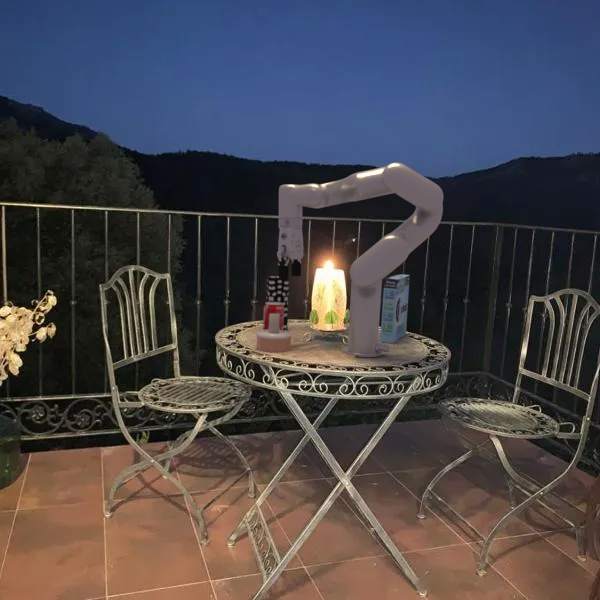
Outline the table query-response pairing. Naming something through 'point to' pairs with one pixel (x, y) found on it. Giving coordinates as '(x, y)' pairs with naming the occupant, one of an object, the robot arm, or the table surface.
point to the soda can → (273, 308)
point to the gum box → (394, 308)
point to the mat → (303, 345)
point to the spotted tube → (278, 294)
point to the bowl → (273, 344)
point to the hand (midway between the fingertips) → (290, 277)
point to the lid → (274, 329)
